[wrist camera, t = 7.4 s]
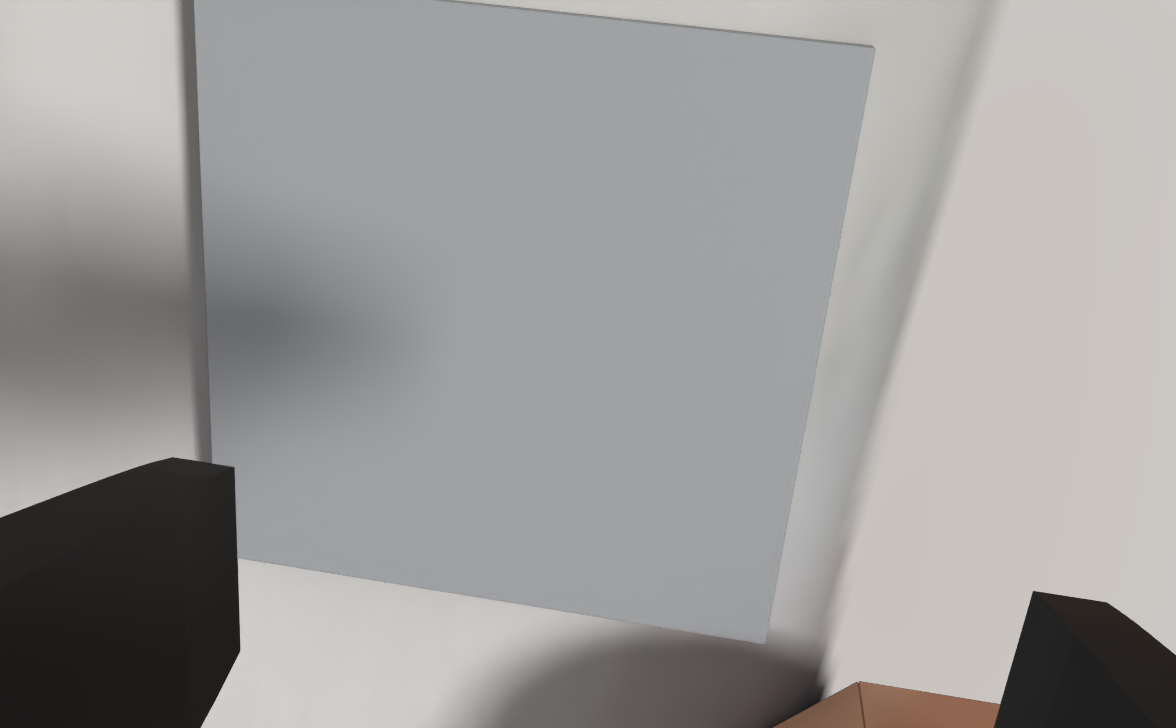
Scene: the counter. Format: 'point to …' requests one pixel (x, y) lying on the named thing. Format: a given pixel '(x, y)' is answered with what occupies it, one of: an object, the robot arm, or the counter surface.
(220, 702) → the counter surface
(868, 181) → the counter surface
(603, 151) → the mat
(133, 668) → the robot arm
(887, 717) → the bowl
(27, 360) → the counter surface
